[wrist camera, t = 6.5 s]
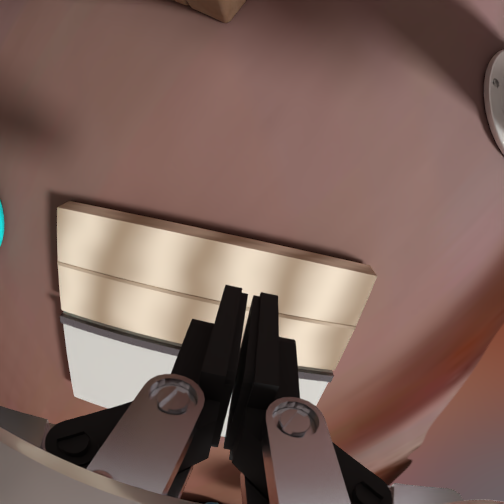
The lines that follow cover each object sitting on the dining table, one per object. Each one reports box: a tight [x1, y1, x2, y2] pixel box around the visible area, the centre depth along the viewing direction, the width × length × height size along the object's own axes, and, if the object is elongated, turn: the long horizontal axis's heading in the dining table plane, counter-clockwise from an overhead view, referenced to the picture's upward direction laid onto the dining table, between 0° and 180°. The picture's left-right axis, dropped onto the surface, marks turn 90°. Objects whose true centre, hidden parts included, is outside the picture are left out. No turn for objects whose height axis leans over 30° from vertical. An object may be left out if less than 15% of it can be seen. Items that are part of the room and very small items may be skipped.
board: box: [60, 311, 334, 437], centre depth 30 cm, size 26×12×2 cm, turn 77°
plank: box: [57, 201, 377, 370], centre depth 26 cm, size 26×10×2 cm, turn 77°
